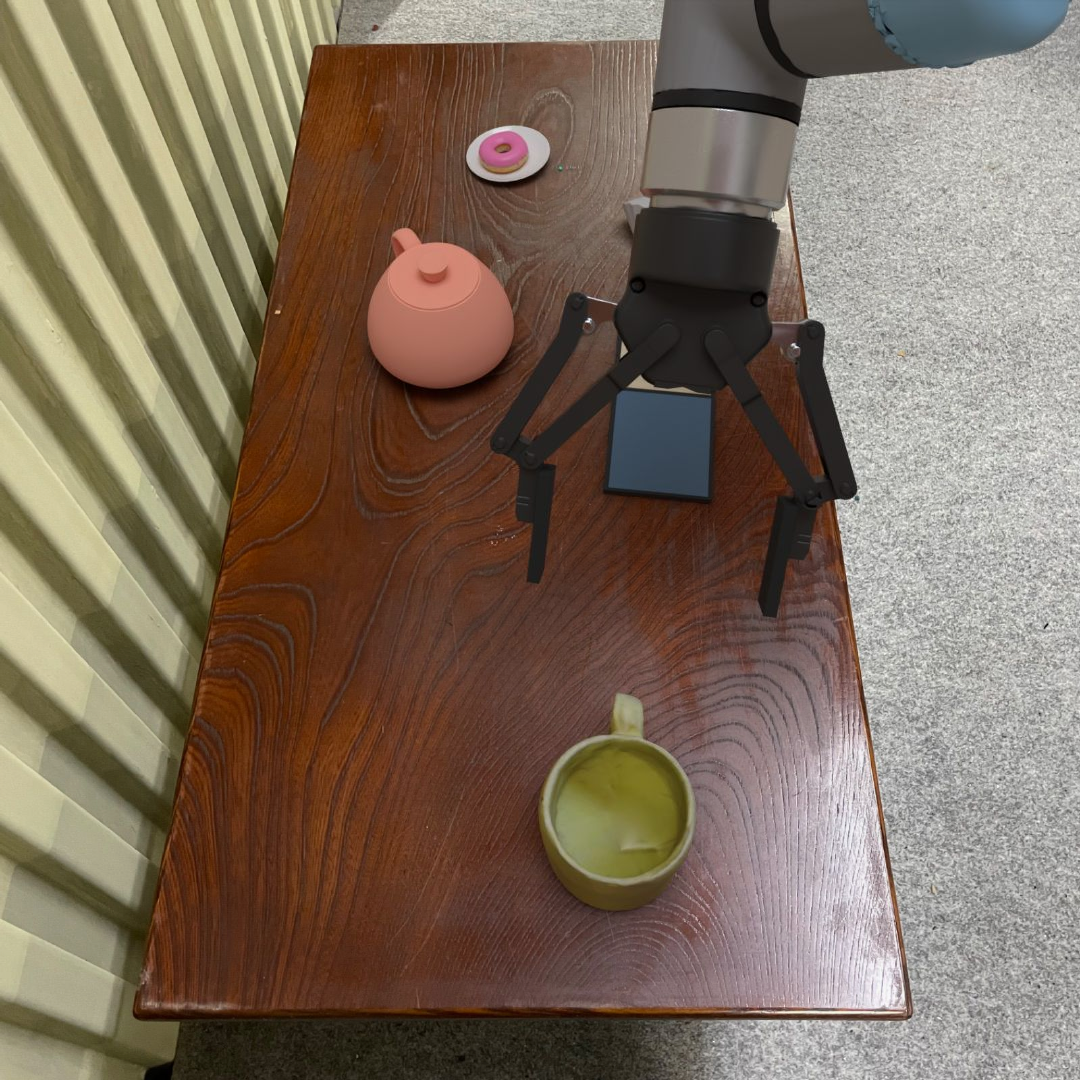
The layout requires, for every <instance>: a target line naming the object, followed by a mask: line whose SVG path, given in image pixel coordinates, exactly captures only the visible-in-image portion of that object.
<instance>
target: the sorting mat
mask: <svg viewBox="0 0 1080 1080" xmlns="http://www.w3.org/2000/svg"><path fill="white" fill-rule="evenodd" d="M621 347H622V340H621V338H620V336H619V334H618V333H617V340H616V351H615V361H614V364H615V363H616V362H617V361H618V360H619V359H620V358H621ZM716 400H717V392H713V393H711V395H701V394H690V393H679V392H668V391H657V390H646V389H635V388H625V389H624V390H623V391H621V392H620V393H619V394H618V395H617V396H616V397H615V398H613V399H612V400H611V401H610V402H611V404H610V413H609V422H608V423H609V425H608V433H607V445H606V456H605V465H604V475H603V487H602V493H603V494H609V495H619V496H627V497H639V498H648V499H661V500H669V501H670V500H671V501H679V502H691V503H701V504H710V505H711V504H713V501H714V472H715V471H714V470H715V469H714V467H715V435H716V433H715V432H716V405H717V404H716V403H717V401H716Z"/></svg>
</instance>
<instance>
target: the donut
mask: <svg viewBox="0 0 1080 1080" xmlns="http://www.w3.org/2000/svg"><path fill="white" fill-rule="evenodd" d="M550 153H551V146H550V143H549V141H548V139H547V137H545V135H544V134H542V133H541V132H540V131H538V130H536V129H534V128H531V127H528V126H524V125H503V126H499V127H496V128H491V129H490V130H487V131H485V132H483V133H481V134H480V135H478V136H477V137H476V138H475V139H473V141H472V142H471V143H470V145H469V147H468V149H467V150H466V156H465V157H466V163H467V166H468V168H469V169H470V170H471V172H472V173H473V174H475V175H476V176H478V177H480V178H483V180H484V179H485V180H487V181H490V182H498V183H502V182H503V183H509V182H514V181H515V182H516V181H519V180H523V179H526V178H528V177H530V176H532V175H534V174H535V173H537V172H539V170H541V169H542V168H543V167H544V166H545V164H546V163H547V162H548V160H549V157H550V155H551V154H550ZM565 168H566V170H568V165H566V167H565ZM571 168H572V170H576V166H573V165H572V166H569V170H571ZM577 169H578V170H579V166H577ZM558 170H559V171H562V170H563V167H562V166H559V167H558Z"/></svg>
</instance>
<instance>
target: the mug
mask: <svg viewBox="0 0 1080 1080" xmlns="http://www.w3.org/2000/svg"><path fill="white" fill-rule="evenodd" d="M644 716H645V706H644V704H643V702H642V700H640V699H639V698H638V697H635V696H634V695H630V694H626V693H619V692H617V693H616V694H615V696H614V701H613V705H612V709H611V715H610V720H609V722H610V723H609V728H608V733H609V734H599V735H595V736H591V737H588V738H587V737H586V738H585V739H583V740H581V741H579V742H577V743H575V744H574V745H572V746H571V747H569V748H568V749H567V750H566V751H564V752H563V753H562V754H561V755H560V756H559V757H558V758H557V760H556V761H555V762H554V763H553V764H552V765H551V767H550V770H549V771H548V773H547V775H546V776H545V778H544V781H543V784H542V787H541V791H540V794H539V799H538V809H537V810H538V811H537V814H538V825H539V830H540V834H541V839H542V843H543V847H544V849H545V853H546V855H547V859H548V861H549V863H550V866H551V868H552V870H553V872H554V874H555V876H556V878H557V879H558V880H559V882H560V883H561V884H562V885H563V887H564V888H565V889H566V890H567V891H568V892H569V893H570V894H571V895H573V896H574V897H575V898H577V899H578V900H579V901H581V902H582V903H584V904H587V905H588V906H591V907H592V908H593V907H594V908H597V909H599V910H604V911H613V912H615V911H617V912H618V911H619V912H621V911H630V910H635V909H638V908H641V907H643V906H645V905H647V904H649V903H651V902H652V901H654V900H655V899H657V898H658V897H659V896H661V894H662V893H663V892H664V891H665V890H666V889H667V887H668V886H669V885H670V882H672V880H673V879H674V877H675V875H676V873H677V871H678V870H679V869H680V868H681V866H682V865H683V863H684V861H685V859H686V857H687V856H688V853H689V851H690V850H691V847H692V844H693V841H694V837H695V833H696V828H697V820H698V819H697V803H696V796H695V792H694V788H693V785H692V783H691V781H690V779H689V777H688V775H687V773H686V772H685V770H684V769H683V767H682V766H681V764H680V763H679V762H678V761H677V758H675V756H673V755H672V754H671V753H670V752H669V751H667V750H666V749H664V748H663V747H662V746H659V745H657V744H656V743H653V742H651V741H649V740H646V739H645V738H644V736H645V726H644V723H645V722H644V718H645V717H644Z"/></svg>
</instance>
